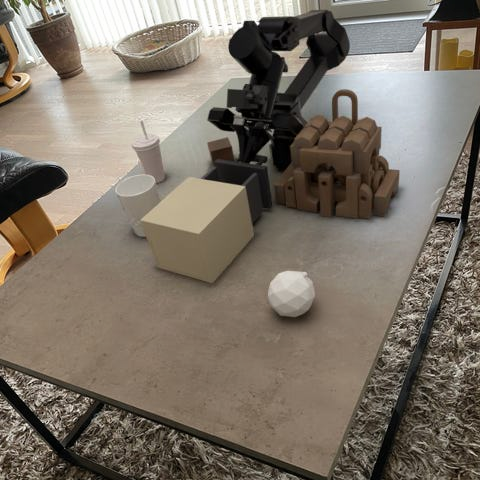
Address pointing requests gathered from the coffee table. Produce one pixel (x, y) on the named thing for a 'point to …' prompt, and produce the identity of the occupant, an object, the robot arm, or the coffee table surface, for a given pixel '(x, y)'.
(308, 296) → the ornament
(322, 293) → the coffee table surface
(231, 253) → the cabinet
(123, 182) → the white cup
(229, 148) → the block
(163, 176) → the smoothie
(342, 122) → the wooden puzzle
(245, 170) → the drawer
